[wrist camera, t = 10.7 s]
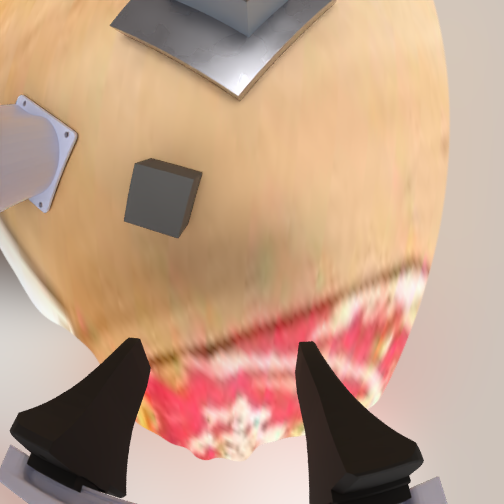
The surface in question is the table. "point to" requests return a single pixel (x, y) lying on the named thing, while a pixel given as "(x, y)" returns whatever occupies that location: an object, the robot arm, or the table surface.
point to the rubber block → (161, 196)
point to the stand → (217, 38)
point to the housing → (238, 12)
